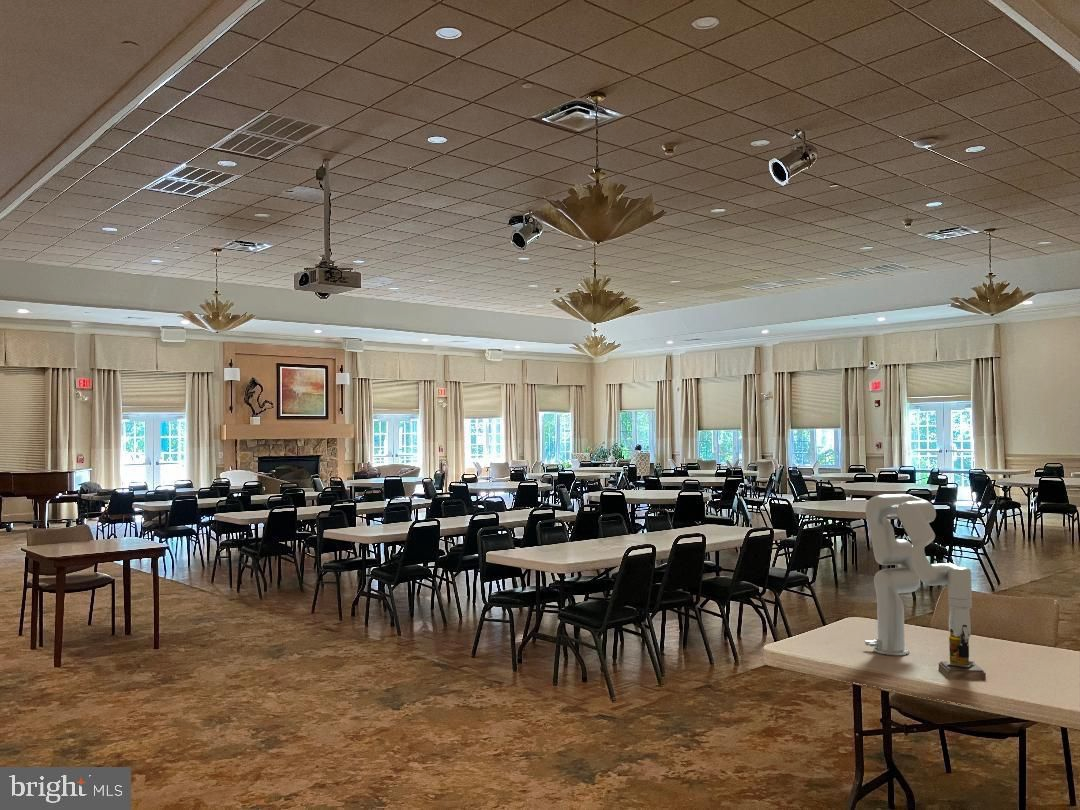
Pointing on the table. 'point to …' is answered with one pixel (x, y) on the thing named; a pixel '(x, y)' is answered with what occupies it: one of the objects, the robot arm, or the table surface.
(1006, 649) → the table surface
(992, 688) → the table surface
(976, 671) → the pedestal
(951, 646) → the condiment
